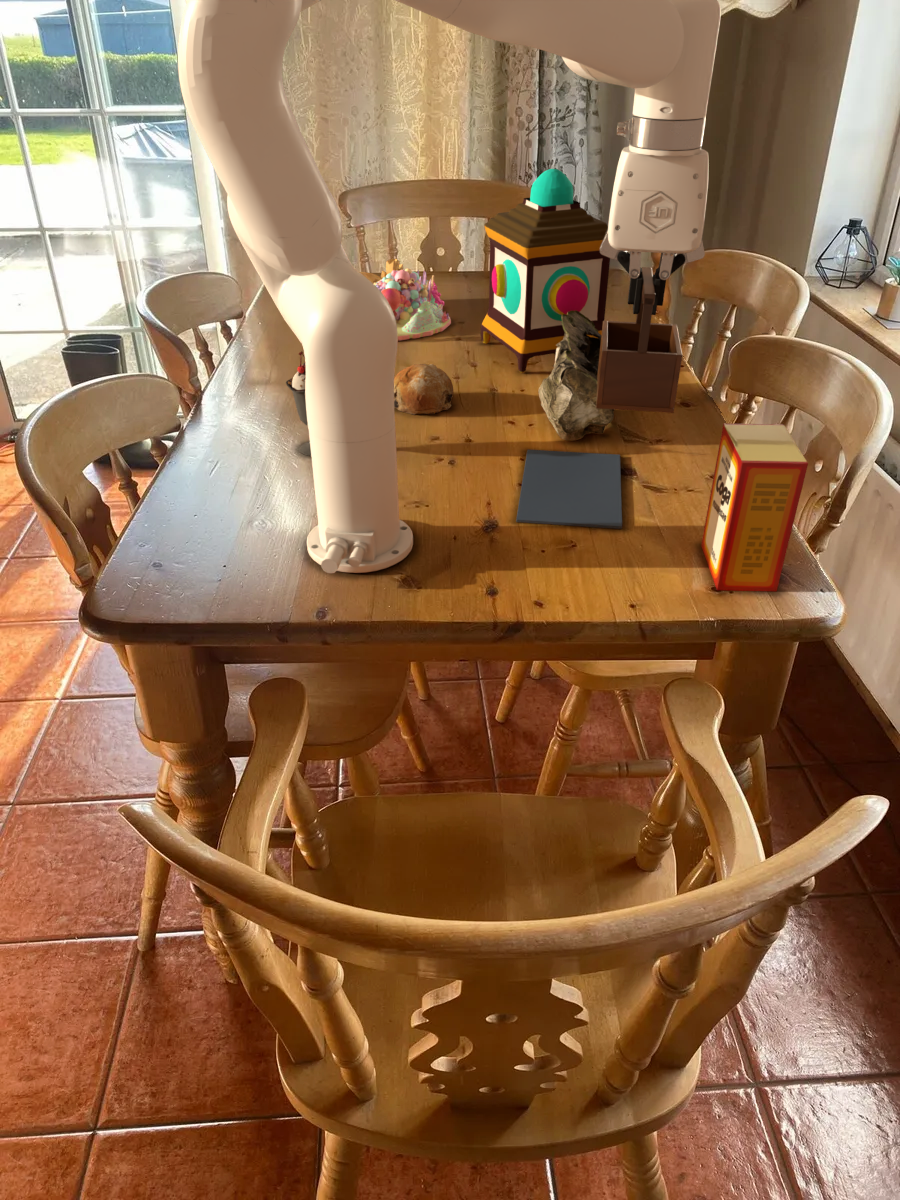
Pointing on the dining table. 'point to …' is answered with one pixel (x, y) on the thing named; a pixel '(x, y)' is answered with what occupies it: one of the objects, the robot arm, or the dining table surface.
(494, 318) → the decorative lantern
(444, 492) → the dining table surface
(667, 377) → the basket
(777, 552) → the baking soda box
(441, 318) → the candy landscape model
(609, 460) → the placemat
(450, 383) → the bread roll
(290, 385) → the sundae
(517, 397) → the dining table surface
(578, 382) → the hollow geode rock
